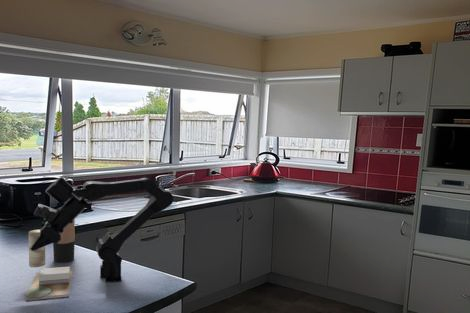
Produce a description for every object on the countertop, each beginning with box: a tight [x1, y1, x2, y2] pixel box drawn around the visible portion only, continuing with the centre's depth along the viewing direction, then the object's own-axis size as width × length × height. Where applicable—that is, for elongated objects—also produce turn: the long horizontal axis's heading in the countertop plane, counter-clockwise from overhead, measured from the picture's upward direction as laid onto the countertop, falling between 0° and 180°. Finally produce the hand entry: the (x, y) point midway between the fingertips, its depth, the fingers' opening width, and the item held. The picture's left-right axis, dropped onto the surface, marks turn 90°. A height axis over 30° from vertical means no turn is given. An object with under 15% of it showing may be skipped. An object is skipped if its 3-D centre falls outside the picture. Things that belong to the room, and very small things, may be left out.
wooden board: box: [25, 269, 74, 303], centre depth 135 cm, size 13×22×2 cm, turn 18°
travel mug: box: [52, 219, 76, 264], centre depth 157 cm, size 8×8×20 cm
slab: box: [39, 266, 71, 286], centre depth 135 cm, size 9×6×4 cm, turn 108°
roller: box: [28, 229, 46, 268], centre depth 133 cm, size 5×5×11 cm
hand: (32, 247), depth 132 cm, fingers closed on roller, 5 cm apart
